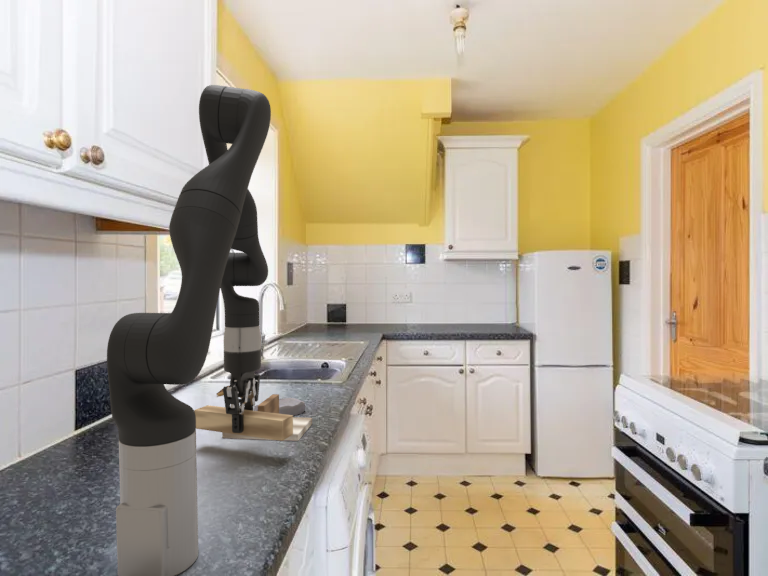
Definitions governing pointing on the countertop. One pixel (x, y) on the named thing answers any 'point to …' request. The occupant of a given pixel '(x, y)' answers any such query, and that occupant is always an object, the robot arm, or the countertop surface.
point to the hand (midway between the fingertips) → (243, 427)
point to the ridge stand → (273, 407)
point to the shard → (221, 392)
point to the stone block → (289, 406)
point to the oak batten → (246, 423)
